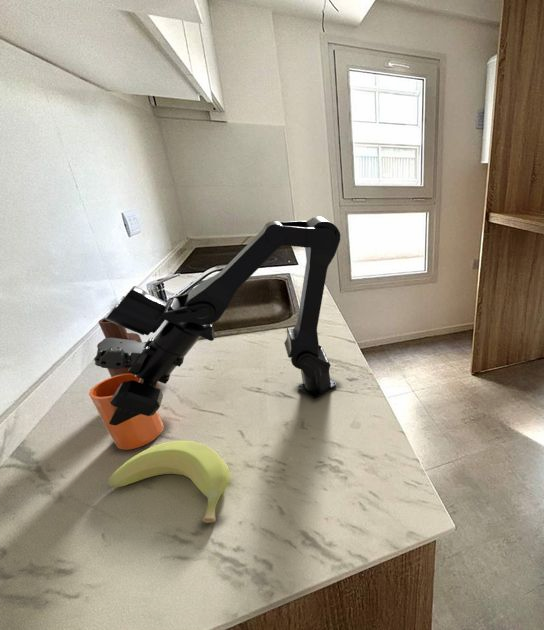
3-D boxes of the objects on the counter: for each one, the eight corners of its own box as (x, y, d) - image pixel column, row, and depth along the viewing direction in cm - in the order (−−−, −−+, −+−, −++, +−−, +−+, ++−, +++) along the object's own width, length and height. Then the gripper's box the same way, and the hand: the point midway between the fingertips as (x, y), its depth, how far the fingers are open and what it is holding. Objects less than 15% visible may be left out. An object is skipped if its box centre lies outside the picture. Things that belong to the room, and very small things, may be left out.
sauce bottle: (165, 391, 76) (136, 318, 68) (128, 408, 71) (92, 330, 63) (153, 381, 80) (124, 309, 72) (118, 395, 75) (82, 320, 67)
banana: (183, 412, 60) (239, 483, 50) (198, 428, 64) (253, 497, 54) (95, 473, 52) (140, 571, 42) (118, 487, 56) (164, 580, 46)
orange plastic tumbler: (170, 431, 65) (149, 382, 60) (123, 456, 60) (96, 404, 55) (155, 415, 69) (134, 368, 64) (110, 437, 64) (83, 387, 58)
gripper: (133, 304, 63) (82, 366, 64) (103, 350, 48) (37, 431, 49) (193, 331, 70) (147, 388, 70) (183, 379, 55) (124, 450, 55)
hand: (118, 410), depth 61 cm, fingers closed on orange plastic tumbler, 7 cm apart
